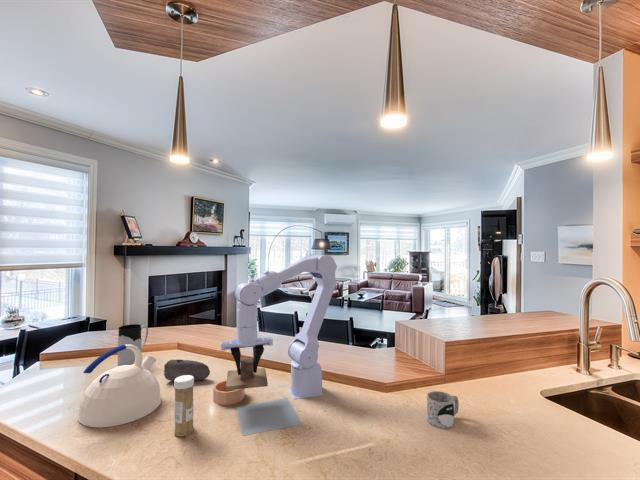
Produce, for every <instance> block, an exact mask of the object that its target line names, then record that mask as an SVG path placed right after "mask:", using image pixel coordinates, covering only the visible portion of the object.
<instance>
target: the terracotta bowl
mask: <svg viewBox="0 0 640 480" xmlns="http://www.w3.org/2000/svg"><path fill="white" fill-rule="evenodd" d="M226 383H227V379H226V380H225V379H224V380H221V381H219V382H216V383H215V384H214V385H213V386H212V401H213V403H214V404H216V405H218V406H219V405H220V406H230V405H235V404H237V403H240V402H241V401H243V400H244V398H245V397H246V395H245V391H246V390H245V389H246V388H245V389H234V390H226Z"/></svg>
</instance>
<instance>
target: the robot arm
mask: <svg viewBox="0 0 640 480" xmlns="http://www.w3.org/2000/svg"><path fill="white" fill-rule="evenodd" d="M337 268H338V265H337V262H336V261H335V259H334V258H333V256H332V255H329V254H316V253H312V254H310V255H307V256H304V257H302V258H300V259H299V260H297V261H295V262H293V263H291V264H290V265H288V266H286V267H284V268H283V269H281V270H279V271H277V272H276V271H273V270H265V271H263V274H262V275H259V276H258V277H256V278H250V279H248V281H249V282H242V283H240V284H238V286H237V287H236V289H235V292H234V293H233V294H234V298H235V299H236V300H237V305H236V306H237V308H236V339H231V340H227V341H221V342H220V351H221V352H223V351H227V350H230V353H231V355H232V357H233V359H234V362H235V366H236V370H237V373H238V375H241V357H242V355H241V354H242V353H241V349H246V348H252V355H253V357H252V358H253V372H254V373H256V372H257V368H259V367H258V366H259V363H260V360H261V358H262V355H263V353H264V351H265V347H264V346H269V347H270V346H271V347H272V346H273V340H274V339H273V338H272V337H270V336H269V337H267V336H266V337H258V302H259V301H260V300H261V298H262V297H265V296H267V295H269V294H270V293H272V292H274V291H277V290H278V289H279V288H281V287H282V286H281V285H282V283H283V282H285V281H287V280H289V279H292V278H294V277H296V276H298V275H300V274H302V273H309V274H310V275H311V276H312V277H313V278H314V280H315V282H316V284H317V286H316V288H315V289H316V290H315V292H314V295H313V298H312V300H311V303H310V306H309V309H308V311H307V314H306V316H305V320H304V322H303V325H302V328H301V330H300V331H299V332H298V333H297V334H295V336H294V338H293V340H292V341H291V342H290V343H289V345H288V348H287V354H288V357H289V358H290V359H291V362H290V387H287V391H288V394H290V396H291V398H292V400H300V399H305V398H311V397H313V398H314V397H317V396H318V397H319V396H323V395H324V393H323V371H322V366H321V364H320V363H319V362H317V361H318V360H319V349H320V344H319V340H318V335H319V333H320V330H321V327H322V325H323V322H324V319H325V316H326V312H327V310H328V308H329V305H330V302H331V299H332V296H333V294H334V291H335V287H336V282H337V281H336V271H337Z"/></svg>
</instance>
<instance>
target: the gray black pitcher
mask: <svg viewBox="0 0 640 480" xmlns="http://www.w3.org/2000/svg"><path fill="white" fill-rule="evenodd" d="M144 327H145V328H146V329H145V330H146V331H145V338H144V341H143V342H142V329H143V328H144ZM148 335H149V327H148V325H147V324H143V325H141V324H125V325H121V326H119V327H118V337H117V347H118V346H121V345H128V344H131V345H134V346H136V347H138V348H139V350H140V351H141V352H142V350H143V348H144V347H145V345H146V343H147V340H148V339H147V338H148V337H149V336H148ZM134 362H135V354H134V352H133V351H132V350H131V349H124V350H122V351H119V352H117V365H116V367H118V366H123V365H132V364H134Z"/></svg>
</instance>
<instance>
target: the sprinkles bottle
mask: <svg viewBox="0 0 640 480" xmlns="http://www.w3.org/2000/svg"><path fill="white" fill-rule="evenodd" d="M173 384H174V385H173V387H174V430H173V431H174V435H175V436H177V437H180V438H182V437H186V436H187V435H189V434H191V433H192V432H193V431H194V430H195V429H194V428H195V427H194V386H195V381H194V377H193V376H191V375H183V376H179V377H177V378H176V379H175V380H174V381H173Z"/></svg>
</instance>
